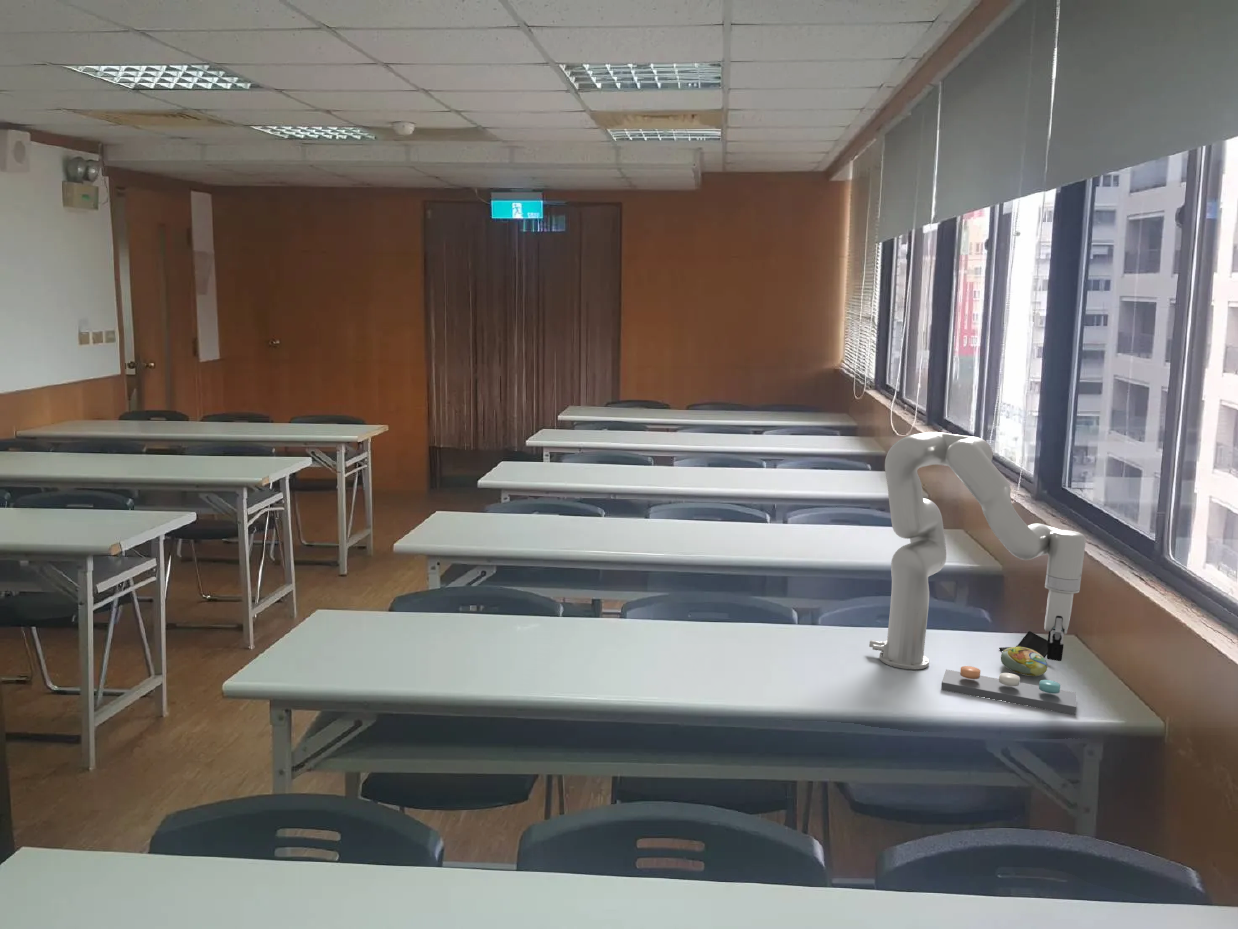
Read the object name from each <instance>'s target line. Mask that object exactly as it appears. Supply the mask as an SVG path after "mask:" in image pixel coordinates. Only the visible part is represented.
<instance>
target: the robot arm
mask: <svg viewBox="0 0 1238 929" xmlns="http://www.w3.org/2000/svg"><path fill="white" fill-rule="evenodd" d="M993 457H994V456H993V449H992V446H991V445H990V443H989V442H987V441H986V440H985V439H983V438H980V437H978V436H970V435H961V434H954V433H953V434H952V433H948V432H947V433H946V432H940V431H939V432H938V431H928V432H922V433H915V434H909V435H906V436H905V437H903V438H901V439H899V440H898V441H896V442H895V443H894V444H893V445H892V446H891V447H890V448H889V449H888V452H887V454H886V457H885V460H884V471H885V479H886V485H887V494H888V503H889V504H888V505H889V512H890V521H891V526H892V529H893V532H894V533H895V534H896V535H897V536H898V537H899V538H901V539H907V540H908V539H909V541H910V542H909V543H907V544H905V545H902V546H901V547H900V548H898V549H897V550H896V551H895V552H894V554H893V556H892V558H891V562H890V572H891V592H890V594H891V596H890V606H889V616H888V617H889V618H888V627H887V628H888V629H887V638H886V639H885V640H882V641H878V640H873V639H870V640H869V646H868V647H869V648H872V650H873V651H881V652H880V653H879V657H878V658H879V660H880V661H881V662H882V663H884V664H885V665H888V666H891V667H893V668H897V669H903V670H922V669H926V668H927V667H929V665H930V659H929V657H927V656H926V655H925V645H926V637H927V636H926V635H927V625H928V614H929V604H930V586H929V577H930V576H933V575H934V574H936V573H939V572H941V570H942V569H943V568H944V567H945V564H946V561H947V546H946V537H945V530H944V522H943V516H942V513H941V510H940V508H939V507H938V505H937V504H936V503H935V502H934V501H933V500H931V499H928V498H924V495H923V485H922V481H921V479H920V476H919V474H918V470H919V469H920V468H923V467H928V466H932V465H937V466H938V465H939V466H946V467H949V468H950V470H951V471H952V472H953V473H954V474H955V475H956V477H957V478H958V480H960V482H961V483H962V485H964V487H966V489H967V490H968V491H969V493H970V494H971V495H972V497H974V499H975V500H976V501H977V502H978V504H979V505H980V507H981V511H982V514H983V516H984V517H985V520H986V522H987V524H988V527H989V528H990V530H991V531H992V533H993V534H994V535H995V537H996V538H997V539H998V540H999V541H1000V543H1001V544H1002V545H1003V547H1004V548H1005V549H1006V550H1007V551H1008V552H1009V553H1010V554H1011V555H1012V556H1014V557H1015V558H1017V559H1019V560H1023V561H1029V560H1033V559H1035V558H1037V557H1040V556H1046V555H1047V556H1048V557H1047V565H1046V575H1045V580H1044V581H1045V583H1044V588H1045V589H1047V590H1048V594H1047V599H1046V600H1047V601H1046V609H1045V617H1044V625H1043V626H1044V627H1043V628H1044V631H1045V632H1046V633H1047V634H1048V635H1047V636H1048V637H1047V640H1048V643H1047V647H1048V652H1047V655H1046V658H1047V660H1051V661H1055V662H1062V660H1063V654H1064V653H1063V652H1064V636H1065V635H1066V634H1068V628H1069V626H1070V619H1071V615H1072V608H1073V600H1074V594H1078V593H1080V590H1081V581H1082V575H1083V574H1082V573H1083V568H1084V567H1083V566H1084V557H1085V550H1086V549H1085V548H1086V543H1087V542H1086V536H1085V535H1084V534H1083V533H1081V532H1079V531H1075V530H1070V529H1060V528H1056V527H1053V526H1051V525H1048V524H1044V523H1037V522H1036V523H1031V524H1027V523H1026V522H1025V521H1024V520H1023V519H1022V517H1021V516H1020V515H1019V513H1018V512H1017V511H1016V509H1015V507H1014V504H1013V502H1012V498H1011V491H1012V489H1011V484H1010V481H1009V480H1008V479H1007V478H1006V477H1005V476H1004V475H1003V474H1002V473H1001V472H1000V470H999V469H998V468H997V467H996V466H995V464H994V463H993V462H992V460H993Z"/></svg>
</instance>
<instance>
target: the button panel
mask: <svg viewBox="0 0 1238 929" xmlns="http://www.w3.org/2000/svg"><path fill="white" fill-rule="evenodd" d="M940 689H941V690H940V691H944V692H950V693H955V694H961V695H966V696H970V695H971V697H976V696H979V697H978V698H981V697H985V698H984V699H986V698H990V699H989V700H992V699H995V700H994V701H997V700H1002V701H1006V702H1005V703H1008V702H1010V703H1009V704H1013V703H1016V704H1015V705H1018V704H1020V705H1021V706H1024V705H1028V706H1027V707H1029V706H1031V707H1030V708H1035V707H1036V709H1041V710H1045V709H1046V711H1051V710H1052V711H1051V712H1058V713H1062V714H1066V715H1073V716H1076V715H1077V714H1076V712H1077V694H1076V691H1068V690H1063V689H1060V692H1059V693H1056V694H1052V693H1046V692H1043V691H1041V690H1040V689H1039V685H1036V684H1030V683H1024V682H1019V685H1018V686H1007V685H1004V684H1001V683H1000V682H999V678H996V677H990V676H984V675H980V678H979V679H968V678H965V677H962V676H961V675H960V671H957V670H951V669H947V668H946V669H945V672H944V675H943V677H942V681H941V688H940ZM1002 701H1001V702H1002Z"/></svg>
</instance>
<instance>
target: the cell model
mask: <svg viewBox="0 0 1238 929" xmlns="http://www.w3.org/2000/svg"><path fill="white" fill-rule="evenodd" d="M1009 647H1010V648H1007V649H1005V650H1004V651H1003V652H1001V653H1000V662H1001V664H1002V665H1003V666H1004V667H1005V668H1006V669H1008V670H1009V671H1011V672H1013V673H1016V674H1017V675H1018V674H1019V675H1023V676H1029V677H1039V676H1042V675H1044V674H1045V673H1046V672H1047V671H1048V663H1047V660H1046V659H1045V658H1044V657H1043V656H1042V655H1040V654H1039V653H1038V652H1036V651H1034V650H1032V649H1029V648H1025V647H1016V646H1009Z"/></svg>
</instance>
